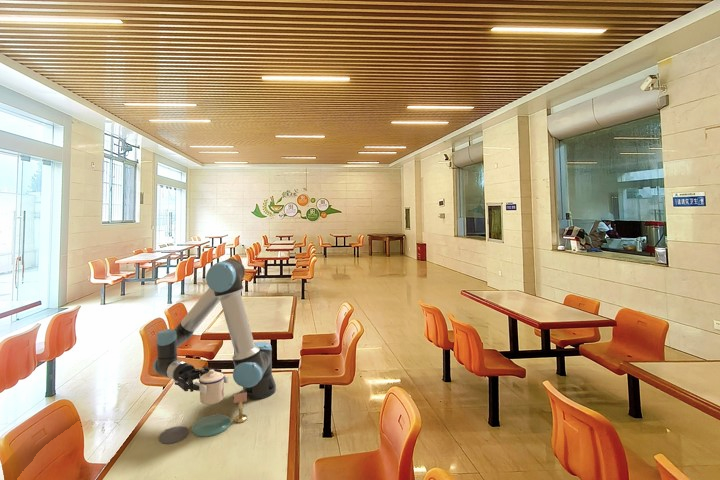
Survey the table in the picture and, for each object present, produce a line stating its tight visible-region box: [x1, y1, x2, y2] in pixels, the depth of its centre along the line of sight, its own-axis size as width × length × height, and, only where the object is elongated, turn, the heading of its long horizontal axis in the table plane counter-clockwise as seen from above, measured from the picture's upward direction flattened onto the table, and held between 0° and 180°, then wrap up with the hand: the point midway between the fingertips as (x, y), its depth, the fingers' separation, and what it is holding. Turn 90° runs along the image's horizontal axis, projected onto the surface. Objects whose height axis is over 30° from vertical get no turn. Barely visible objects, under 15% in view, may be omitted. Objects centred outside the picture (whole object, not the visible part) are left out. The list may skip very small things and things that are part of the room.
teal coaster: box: [191, 414, 231, 438], centre depth 143 cm, size 14×14×1 cm
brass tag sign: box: [233, 391, 248, 424], centre depth 148 cm, size 5×5×11 cm
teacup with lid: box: [198, 369, 225, 405], centre depth 143 cm, size 12×9×12 cm
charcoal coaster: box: [158, 425, 190, 445], centre depth 137 cm, size 10×10×1 cm
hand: (216, 384), depth 140 cm, fingers closed on teacup with lid, 9 cm apart
